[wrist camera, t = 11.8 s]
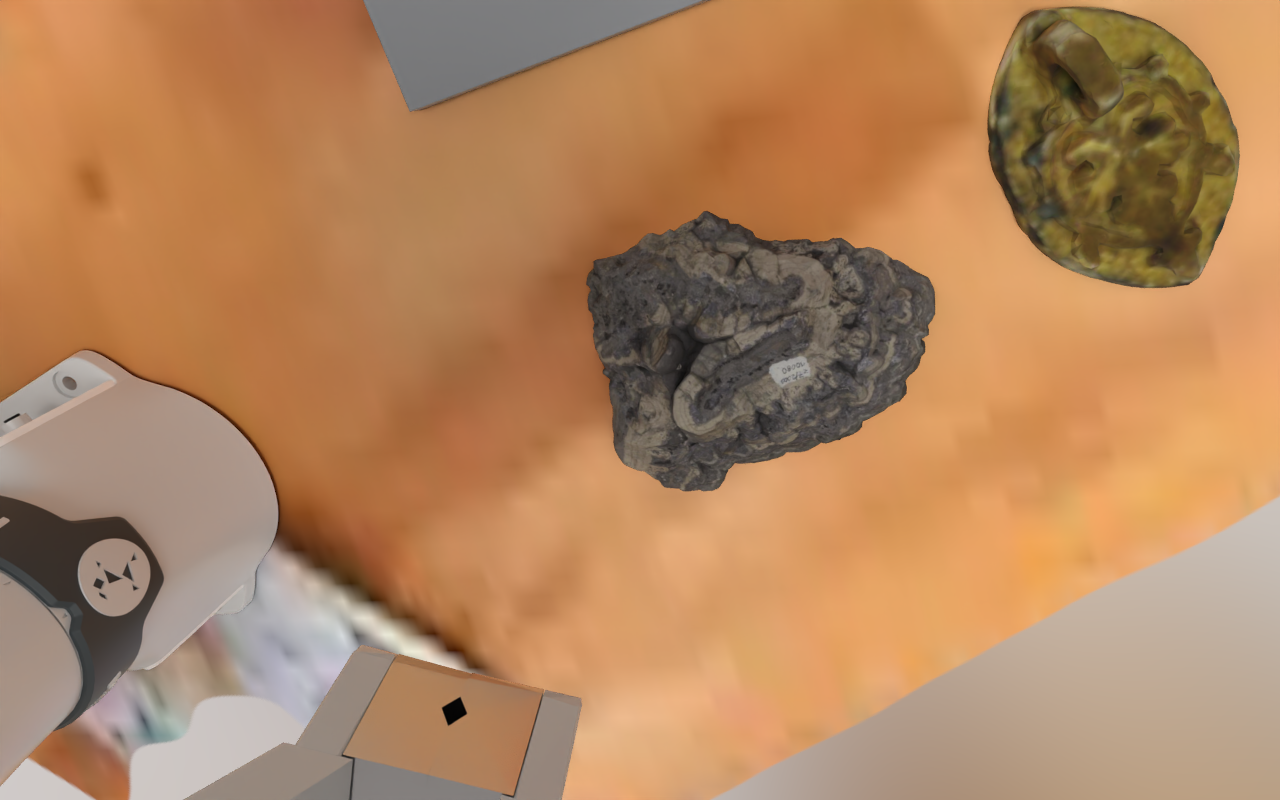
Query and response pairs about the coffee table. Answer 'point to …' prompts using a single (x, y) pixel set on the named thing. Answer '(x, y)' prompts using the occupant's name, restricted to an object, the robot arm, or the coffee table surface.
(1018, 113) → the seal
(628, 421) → the fossil rock
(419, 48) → the dial board
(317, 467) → the coffee table surface
